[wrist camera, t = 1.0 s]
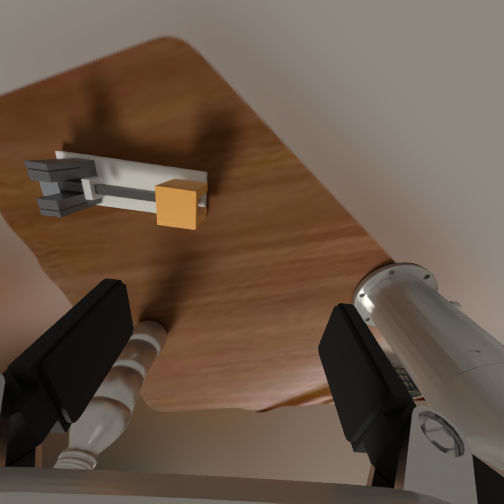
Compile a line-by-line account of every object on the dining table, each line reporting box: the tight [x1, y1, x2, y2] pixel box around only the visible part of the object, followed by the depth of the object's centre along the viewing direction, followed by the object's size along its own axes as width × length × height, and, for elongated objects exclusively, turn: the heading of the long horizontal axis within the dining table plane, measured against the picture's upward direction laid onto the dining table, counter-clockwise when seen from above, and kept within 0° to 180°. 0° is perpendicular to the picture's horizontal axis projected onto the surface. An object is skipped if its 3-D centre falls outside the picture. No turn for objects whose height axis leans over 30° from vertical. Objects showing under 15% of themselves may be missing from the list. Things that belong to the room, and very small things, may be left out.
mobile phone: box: [393, 367, 422, 397], centre depth 41 cm, size 5×3×15 cm
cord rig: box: [24, 151, 207, 219], centre depth 24 cm, size 18×6×8 cm, turn 82°
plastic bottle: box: [53, 320, 167, 470], centre depth 30 cm, size 6×7×20 cm
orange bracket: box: [155, 178, 208, 230], centre depth 24 cm, size 4×4×6 cm
